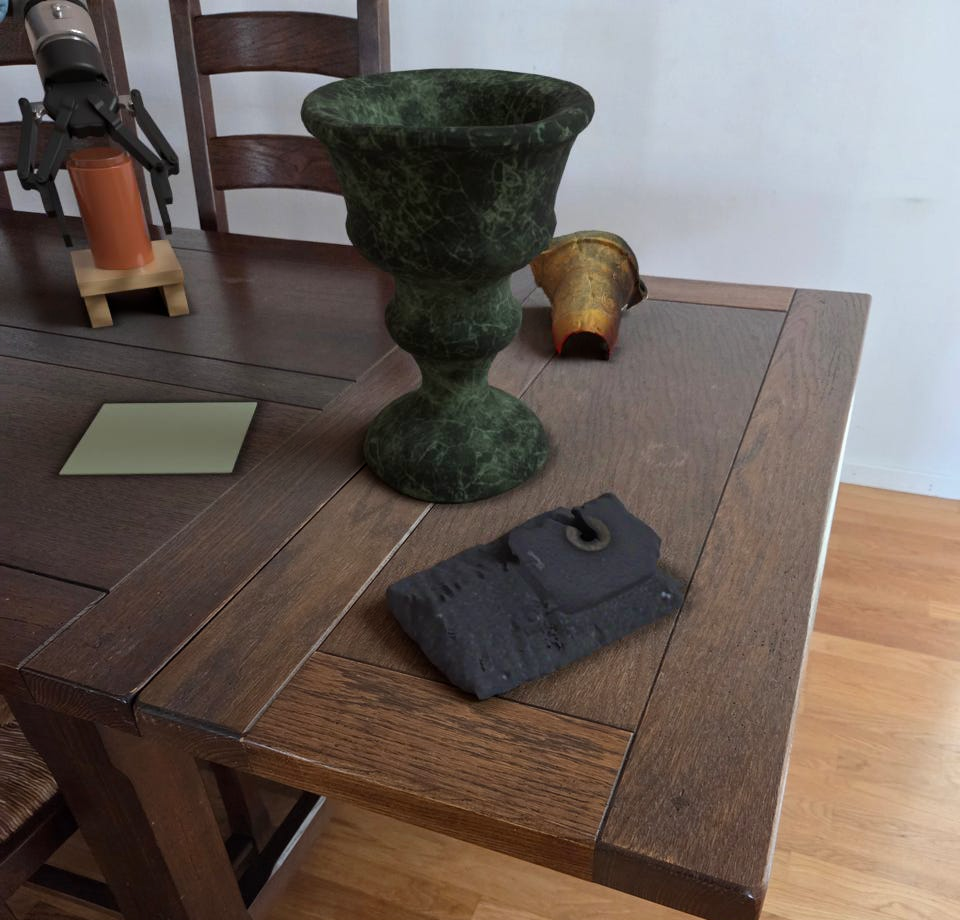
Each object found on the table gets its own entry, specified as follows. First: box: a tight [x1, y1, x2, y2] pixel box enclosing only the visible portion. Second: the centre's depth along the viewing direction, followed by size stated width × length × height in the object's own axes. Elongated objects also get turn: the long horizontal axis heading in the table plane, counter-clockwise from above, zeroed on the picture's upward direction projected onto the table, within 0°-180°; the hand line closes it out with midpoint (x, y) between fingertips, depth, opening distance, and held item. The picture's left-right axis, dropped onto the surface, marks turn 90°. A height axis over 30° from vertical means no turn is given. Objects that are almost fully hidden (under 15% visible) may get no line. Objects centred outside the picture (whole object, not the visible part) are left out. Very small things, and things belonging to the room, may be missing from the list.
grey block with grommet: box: [385, 492, 685, 700], centre depth 67 cm, size 15×22×5 cm
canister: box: [65, 146, 155, 270], centre depth 105 cm, size 7×7×12 cm
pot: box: [528, 229, 649, 361], centre depth 105 cm, size 17×11×18 cm
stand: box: [70, 238, 190, 329], centre depth 111 cm, size 12×12×6 cm
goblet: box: [300, 67, 596, 504], centre depth 76 cm, size 22×23×30 cm
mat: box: [58, 401, 258, 476], centre depth 88 cm, size 16×14×1 cm
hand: (119, 234), depth 105 cm, fingers open, 11 cm apart
